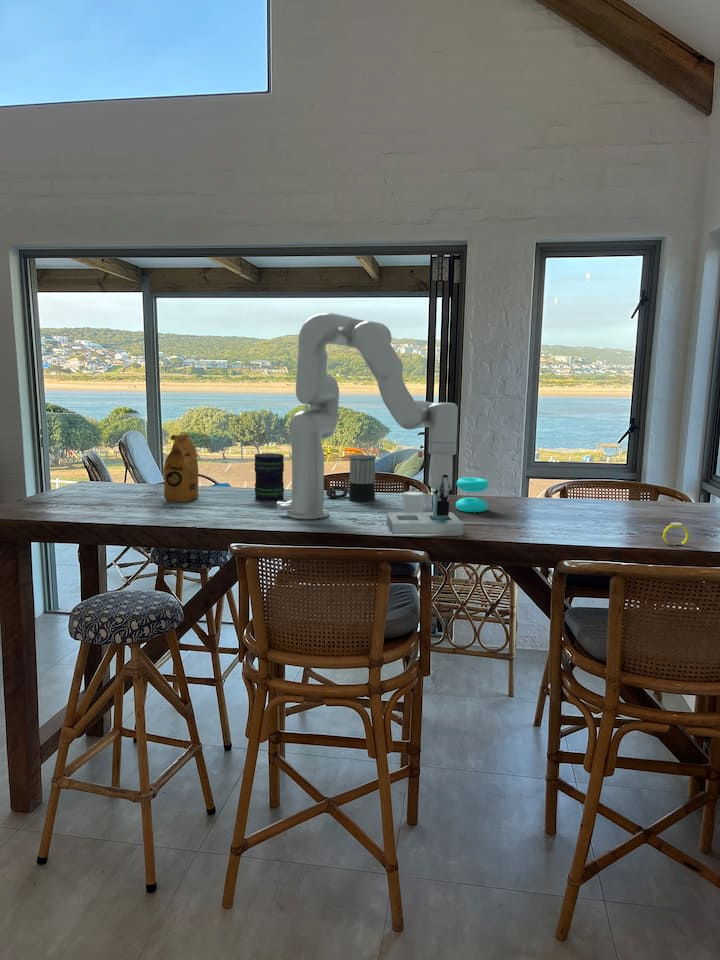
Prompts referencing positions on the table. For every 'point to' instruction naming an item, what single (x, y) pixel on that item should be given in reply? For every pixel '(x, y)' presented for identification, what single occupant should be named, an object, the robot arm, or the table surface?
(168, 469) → the coffee package
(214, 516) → the table surface
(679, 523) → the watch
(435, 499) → the peg
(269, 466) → the storage jar
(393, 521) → the block
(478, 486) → the donuts
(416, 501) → the grey cup
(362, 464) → the milk frother
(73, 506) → the table surface
